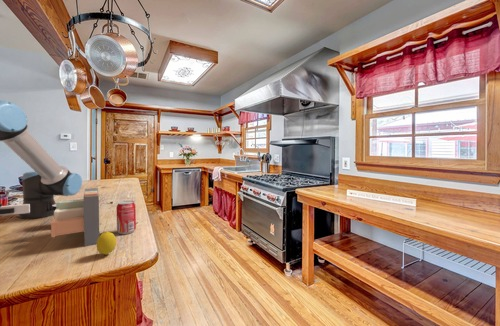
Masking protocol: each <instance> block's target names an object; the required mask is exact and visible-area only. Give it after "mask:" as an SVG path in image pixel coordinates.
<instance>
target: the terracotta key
mask: <svg viewBox="0 0 500 326" xmlns="http://www.w3.org/2000/svg"><path fill="white" fill-rule="evenodd" d="M50 227H51V228H50V229H51V238H56V237H57V236H62V235H69V234H76V233H81V232H84V217H76V218H67V219H59V220H57V219H54V218H53V219H52V221H51V223H50Z"/></svg>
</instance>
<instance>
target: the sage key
mask: <svg viewBox="0 0 500 326" xmlns="http://www.w3.org/2000/svg"><path fill="white" fill-rule="evenodd" d="M55 203H56V209H59V210H63V209H72V208H82V207H84V198H82V199H81V198H80V199H71V200H57V201H56V202H55Z"/></svg>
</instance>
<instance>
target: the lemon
mask: <svg viewBox="0 0 500 326" xmlns="http://www.w3.org/2000/svg"><path fill="white" fill-rule="evenodd" d="M116 245H117V238H116V236H115V234H114V233H112V232H110V231H108V230H107V231H104V232H102V233H101V234H99V237H98V240H97V244H96V250H97V252H99V254H102V255H105V256H108V255H109V254H110V253H111V252H113V251H114V250H115V249H116Z"/></svg>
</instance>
